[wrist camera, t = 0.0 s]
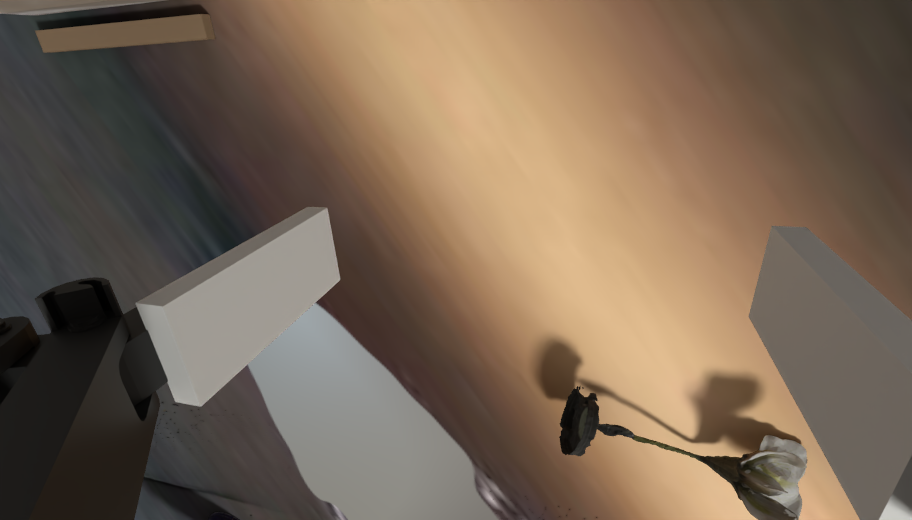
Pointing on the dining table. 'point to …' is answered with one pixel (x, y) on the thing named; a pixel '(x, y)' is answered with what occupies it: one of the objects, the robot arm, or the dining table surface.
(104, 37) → the door frame
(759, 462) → the artificial flower
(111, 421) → the robot arm
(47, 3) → the door
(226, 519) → the storage jar
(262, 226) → the dining table surface
